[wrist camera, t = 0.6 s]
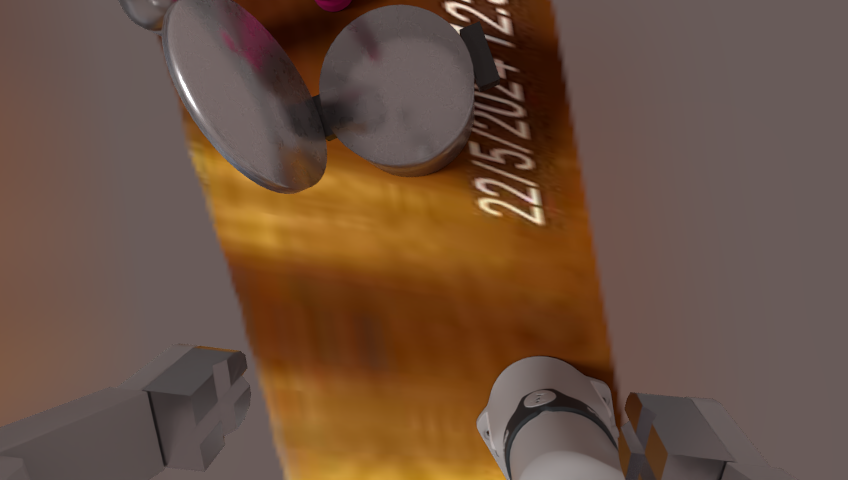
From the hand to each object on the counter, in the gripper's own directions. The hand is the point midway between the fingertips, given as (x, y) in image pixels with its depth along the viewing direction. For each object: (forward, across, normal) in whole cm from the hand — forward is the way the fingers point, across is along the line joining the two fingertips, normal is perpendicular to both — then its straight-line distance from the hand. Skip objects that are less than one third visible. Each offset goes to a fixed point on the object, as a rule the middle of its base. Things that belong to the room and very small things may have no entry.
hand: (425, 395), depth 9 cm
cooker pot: (+54, -10, +4) cm, 55 cm away
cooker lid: (+32, -20, +6) cm, 38 cm away
